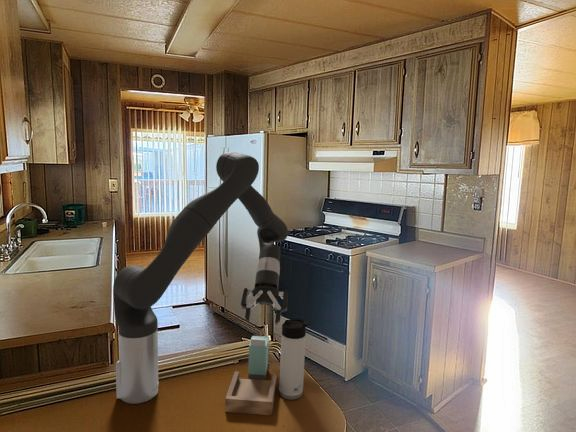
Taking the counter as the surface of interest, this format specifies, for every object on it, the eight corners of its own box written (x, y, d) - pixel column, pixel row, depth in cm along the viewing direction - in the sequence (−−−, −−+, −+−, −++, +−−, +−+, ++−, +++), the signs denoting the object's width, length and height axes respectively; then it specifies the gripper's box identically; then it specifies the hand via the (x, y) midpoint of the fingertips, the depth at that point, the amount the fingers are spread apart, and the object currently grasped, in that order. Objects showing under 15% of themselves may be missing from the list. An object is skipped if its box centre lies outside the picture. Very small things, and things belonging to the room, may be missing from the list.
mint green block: (248, 379, 111) (249, 339, 109) (251, 367, 117) (252, 329, 115) (265, 380, 111) (266, 340, 109) (267, 368, 117) (268, 331, 115)
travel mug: (301, 401, 102) (305, 328, 99) (276, 397, 103) (279, 324, 100) (305, 388, 108) (309, 318, 105) (281, 384, 109) (284, 315, 106)
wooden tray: (225, 411, 97) (225, 398, 96) (234, 383, 109) (234, 371, 108) (271, 415, 96) (272, 402, 96) (276, 386, 108) (276, 374, 108)
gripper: (244, 267, 126) (237, 316, 117) (289, 270, 126) (285, 319, 116) (246, 278, 132) (240, 325, 123) (289, 281, 132) (286, 328, 122)
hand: (262, 322), depth 120 cm, fingers open, 8 cm apart
